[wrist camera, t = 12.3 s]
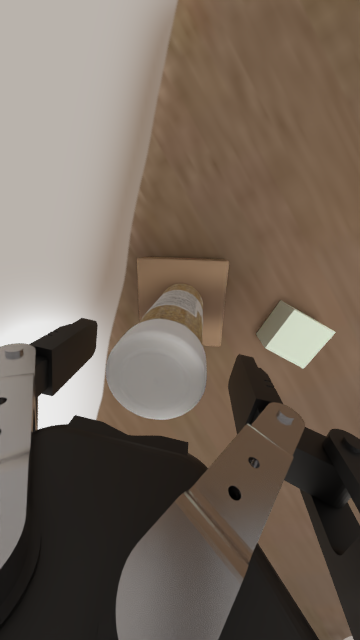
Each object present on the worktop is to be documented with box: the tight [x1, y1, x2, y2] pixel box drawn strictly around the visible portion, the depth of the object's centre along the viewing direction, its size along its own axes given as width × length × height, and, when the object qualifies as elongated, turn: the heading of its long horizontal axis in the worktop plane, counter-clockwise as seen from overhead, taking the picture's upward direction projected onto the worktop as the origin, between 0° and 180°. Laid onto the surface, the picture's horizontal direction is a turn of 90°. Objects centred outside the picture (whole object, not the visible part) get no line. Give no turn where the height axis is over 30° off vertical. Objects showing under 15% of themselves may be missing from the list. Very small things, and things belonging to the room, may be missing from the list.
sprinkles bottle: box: [106, 284, 207, 420], centre depth 15 cm, size 5×5×13 cm
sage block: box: [256, 300, 336, 369], centre depth 24 cm, size 5×5×4 cm
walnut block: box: [137, 257, 229, 347], centre depth 23 cm, size 9×9×4 cm
